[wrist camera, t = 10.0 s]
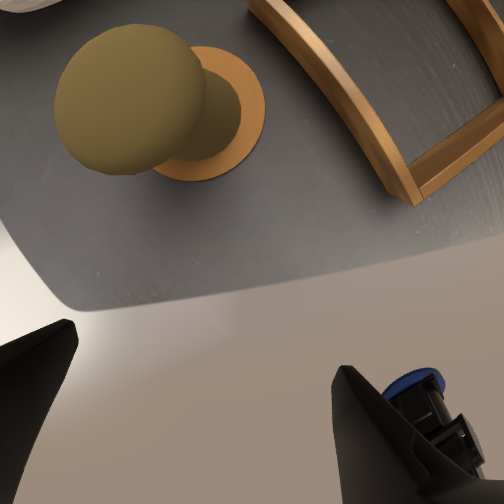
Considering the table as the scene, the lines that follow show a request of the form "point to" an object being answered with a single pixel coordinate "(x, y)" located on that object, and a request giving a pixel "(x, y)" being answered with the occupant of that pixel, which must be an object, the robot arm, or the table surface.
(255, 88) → the coaster
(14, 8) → the plate stack
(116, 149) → the pepper shaker
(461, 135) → the wooden frame
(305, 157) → the table surface
